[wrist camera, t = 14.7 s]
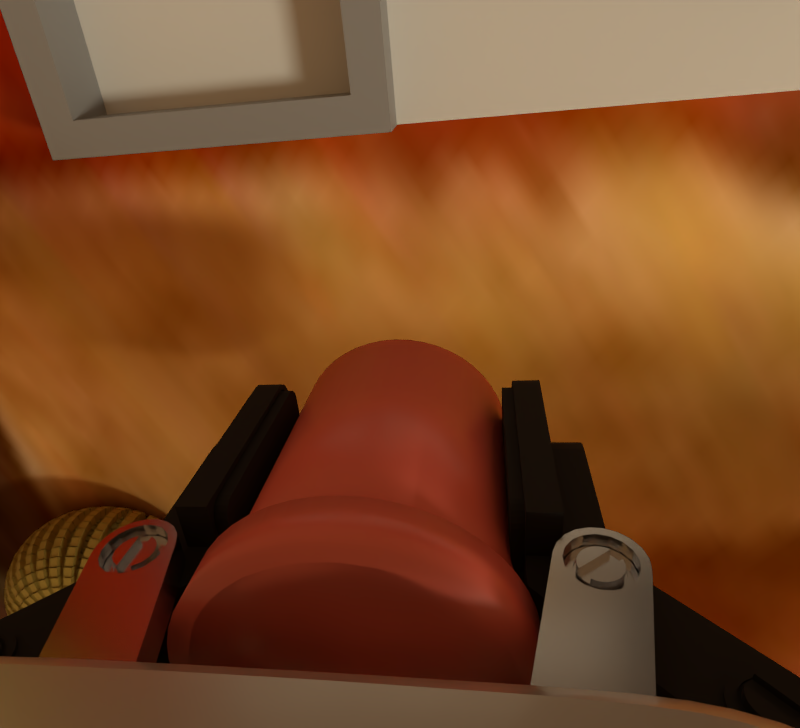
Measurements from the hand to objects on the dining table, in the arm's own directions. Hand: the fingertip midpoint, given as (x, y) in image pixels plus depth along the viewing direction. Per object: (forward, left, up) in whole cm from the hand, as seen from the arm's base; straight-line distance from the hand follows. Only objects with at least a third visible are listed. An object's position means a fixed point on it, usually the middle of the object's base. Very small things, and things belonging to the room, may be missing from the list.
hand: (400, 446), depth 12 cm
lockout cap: (0, 0, -1) cm, 1 cm away
